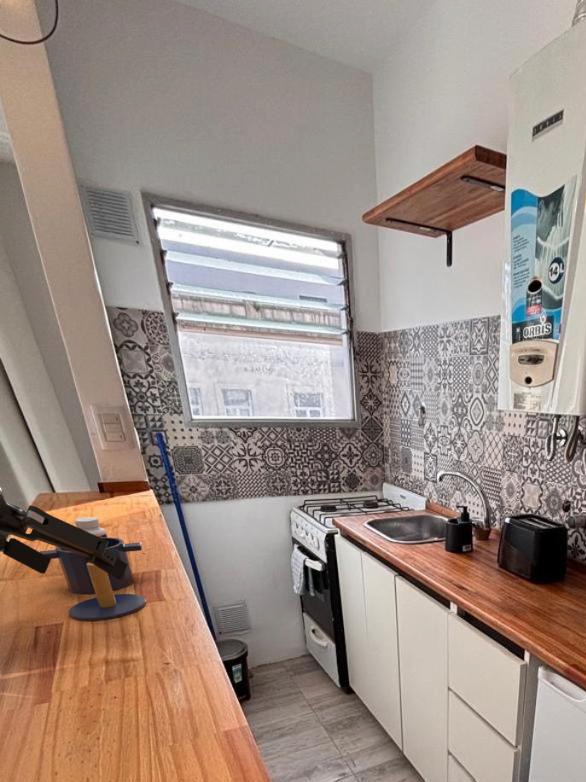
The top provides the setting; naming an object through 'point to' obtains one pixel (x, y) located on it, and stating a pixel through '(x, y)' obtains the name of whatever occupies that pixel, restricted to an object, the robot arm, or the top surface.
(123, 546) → the pot
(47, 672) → the top surface
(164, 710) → the top surface
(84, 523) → the pill bottle
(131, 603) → the lid
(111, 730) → the top surface
